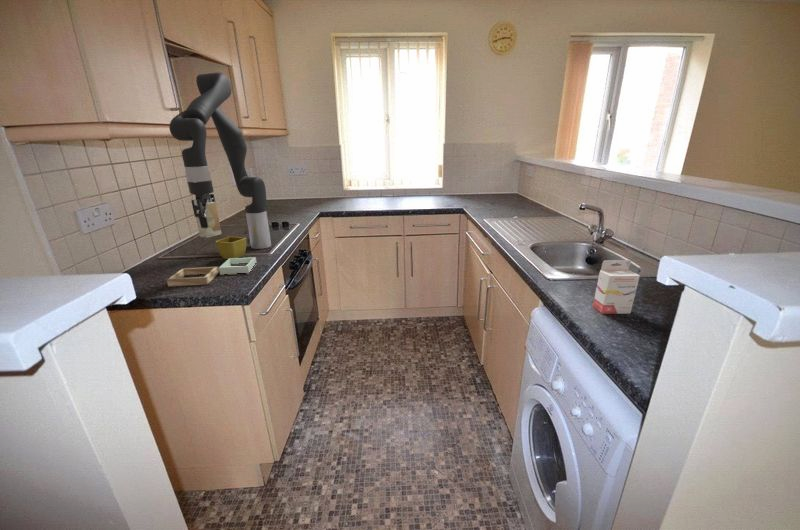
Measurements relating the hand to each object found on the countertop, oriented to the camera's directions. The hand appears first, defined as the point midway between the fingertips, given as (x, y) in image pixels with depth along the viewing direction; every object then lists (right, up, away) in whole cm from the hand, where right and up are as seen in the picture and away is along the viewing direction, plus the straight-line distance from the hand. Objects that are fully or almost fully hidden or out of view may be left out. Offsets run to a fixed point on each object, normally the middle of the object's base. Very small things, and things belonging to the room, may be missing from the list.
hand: (209, 225), depth 126 cm
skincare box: (0, -4, +1) cm, 4 cm away
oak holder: (-6, -20, +1) cm, 21 cm away
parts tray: (+6, -16, +11) cm, 21 cm away
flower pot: (-2, -12, +23) cm, 26 cm away
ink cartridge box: (+132, -28, -27) cm, 138 cm away
